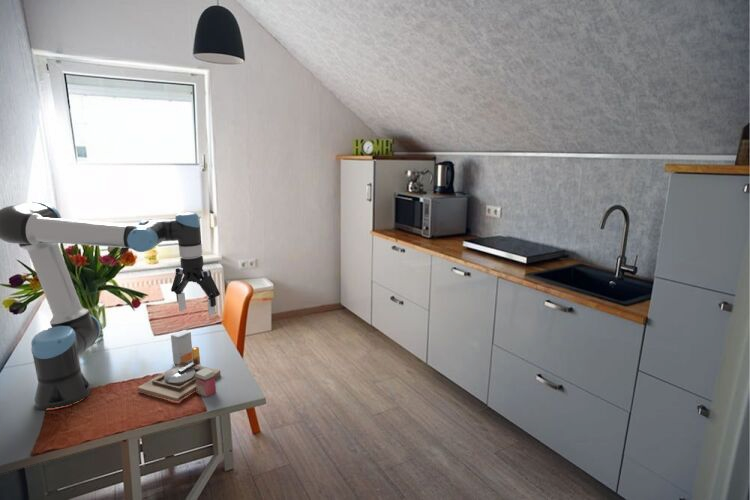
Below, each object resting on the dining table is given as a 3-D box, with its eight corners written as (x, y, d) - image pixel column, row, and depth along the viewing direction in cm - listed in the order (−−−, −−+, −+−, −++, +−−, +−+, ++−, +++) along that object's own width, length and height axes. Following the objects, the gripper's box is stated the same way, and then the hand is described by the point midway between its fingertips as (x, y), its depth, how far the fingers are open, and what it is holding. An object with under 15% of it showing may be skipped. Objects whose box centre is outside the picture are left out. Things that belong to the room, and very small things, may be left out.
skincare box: (180, 366, 167) (177, 337, 165) (173, 363, 170) (170, 334, 167) (193, 359, 172) (191, 331, 170) (187, 357, 175) (184, 329, 172)
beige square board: (177, 404, 143) (176, 395, 142) (138, 392, 149) (137, 384, 149) (220, 375, 161) (220, 368, 160) (183, 366, 167) (182, 359, 167)
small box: (196, 393, 149) (194, 372, 147) (206, 387, 152) (204, 367, 151) (206, 397, 146) (204, 376, 144) (216, 391, 150) (214, 370, 148)
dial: (179, 387, 148) (177, 366, 146) (158, 382, 152) (155, 361, 150) (210, 369, 161) (208, 349, 159) (189, 364, 165) (187, 344, 163)
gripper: (227, 256, 154) (231, 312, 159) (172, 251, 163) (178, 305, 168) (212, 261, 148) (217, 320, 152) (156, 255, 156) (163, 311, 161)
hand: (197, 312), depth 160 cm, fingers open, 13 cm apart
